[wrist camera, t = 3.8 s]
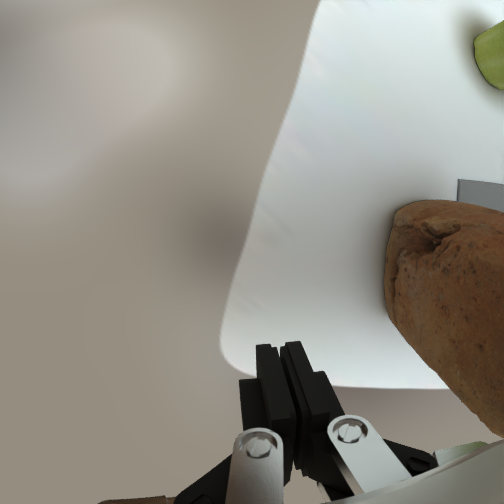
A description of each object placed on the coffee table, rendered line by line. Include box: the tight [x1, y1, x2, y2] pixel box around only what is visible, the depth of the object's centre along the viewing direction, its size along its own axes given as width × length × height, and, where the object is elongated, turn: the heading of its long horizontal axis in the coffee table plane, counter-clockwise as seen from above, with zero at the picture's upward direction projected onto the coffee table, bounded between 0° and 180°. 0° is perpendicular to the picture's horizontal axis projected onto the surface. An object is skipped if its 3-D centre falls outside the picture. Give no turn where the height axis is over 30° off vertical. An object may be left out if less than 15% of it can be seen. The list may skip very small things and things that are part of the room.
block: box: [384, 200, 504, 438], centre depth 15 cm, size 11×8×20 cm
